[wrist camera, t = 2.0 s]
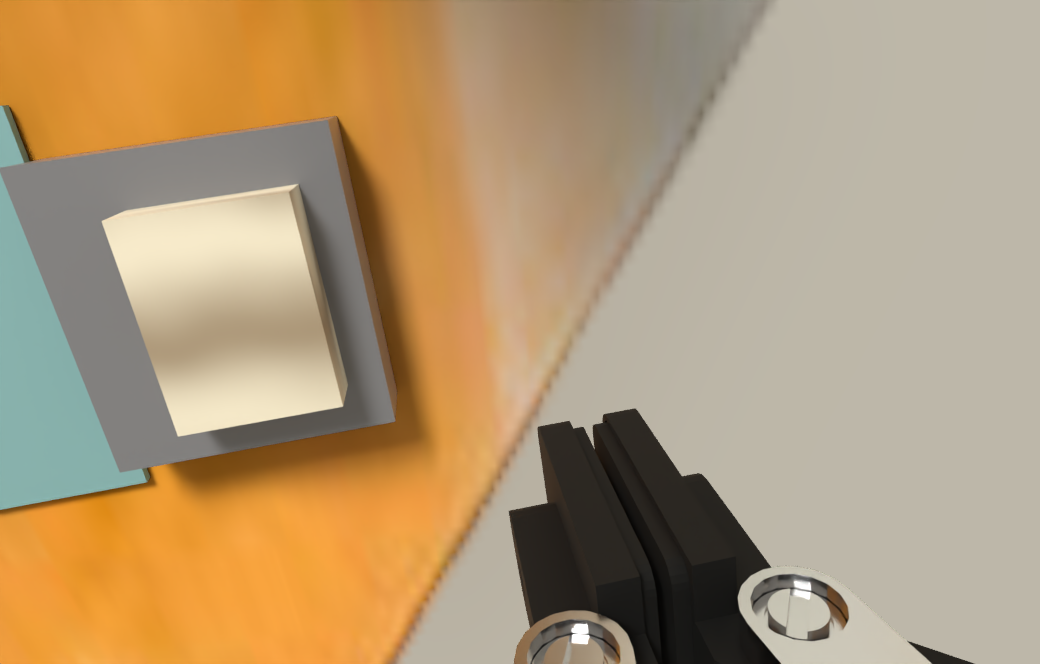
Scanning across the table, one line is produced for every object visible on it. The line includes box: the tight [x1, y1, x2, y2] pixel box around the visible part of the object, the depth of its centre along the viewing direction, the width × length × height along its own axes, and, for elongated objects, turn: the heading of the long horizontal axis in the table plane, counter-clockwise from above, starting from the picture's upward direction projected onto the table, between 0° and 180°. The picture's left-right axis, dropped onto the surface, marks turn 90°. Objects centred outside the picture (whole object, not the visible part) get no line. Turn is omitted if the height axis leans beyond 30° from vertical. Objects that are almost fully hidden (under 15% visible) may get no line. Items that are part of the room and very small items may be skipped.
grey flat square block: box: [0, 116, 397, 473], centre depth 27 cm, size 12×11×3 cm
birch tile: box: [102, 184, 348, 437], centre depth 25 cm, size 8×6×2 cm
